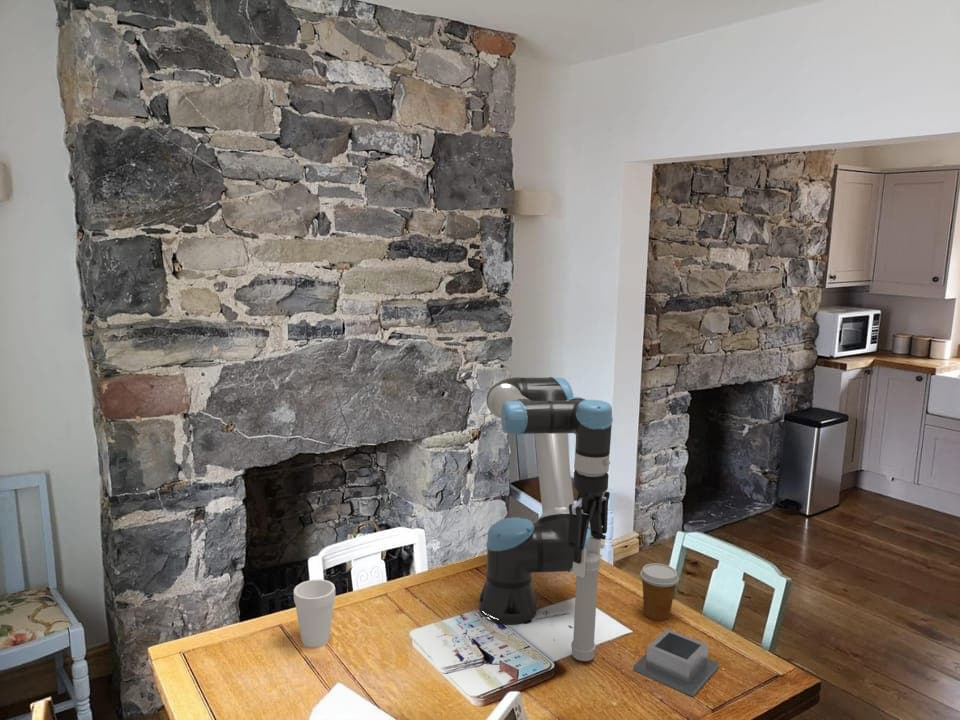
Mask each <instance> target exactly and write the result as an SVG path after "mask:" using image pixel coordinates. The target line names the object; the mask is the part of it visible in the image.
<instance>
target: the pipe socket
mask: <svg viewBox="0 0 960 720" xmlns="http://www.w3.org/2000/svg"><path fill="white" fill-rule="evenodd" d="M708 654H709V644H707V643H705V642H703V641H700V640H697V639H696V638H692V637H690V636H687V635H686V634H685V635H684V634H682V633H679V632H677V631H674V630H671V629H669V628H666V629H665V630H663V631H662V632H661V633H660V634H659V635H658V636H657V637H656V638H655V639H654V640H653V641H651V642H650V643H649V644H648V645H647V647H646V653H645V654H644V655H643V656H642V657H640V658H639V660H637V662H635V663H634V664H633V668H632V669H633V672H636V673H639V674H641V675H643V676H645V677H646V678H647V677H648V678H650V679H652V680H654V681H656V682H659V683H660V684H663V685H665V686H668V687H670V688H672V689H674V690H677V691H679V692H681V693H683V694H686V695H688V696H690V697H692V698H694V696H695V695H696V694H697V693H698V692H699V691H700V690H701V689H702V687H703V686H704V685H705V684H706V683H707V682H708V681H709V680H710V678H711V677H712V676H713V675H714V674H715V672H716V671H717V670H718V669H719V667H720V663H719V661H716V660H714V659H711V658H708Z"/></svg>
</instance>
